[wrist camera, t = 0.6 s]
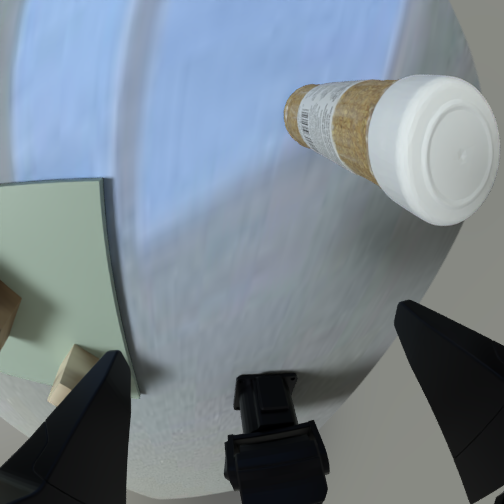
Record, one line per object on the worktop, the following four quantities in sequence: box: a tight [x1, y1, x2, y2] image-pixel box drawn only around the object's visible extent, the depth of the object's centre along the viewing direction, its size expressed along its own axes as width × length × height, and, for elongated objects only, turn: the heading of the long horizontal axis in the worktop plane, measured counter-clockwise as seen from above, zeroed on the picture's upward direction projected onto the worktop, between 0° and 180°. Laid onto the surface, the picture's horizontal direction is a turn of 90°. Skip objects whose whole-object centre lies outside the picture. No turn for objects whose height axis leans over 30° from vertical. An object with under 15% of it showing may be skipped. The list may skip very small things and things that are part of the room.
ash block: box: [47, 344, 99, 406], centre depth 23 cm, size 5×5×5 cm
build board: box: [0, 178, 140, 399], centre depth 22 cm, size 24×22×1 cm
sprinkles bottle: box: [284, 75, 500, 226], centre depth 12 cm, size 5×5×14 cm
